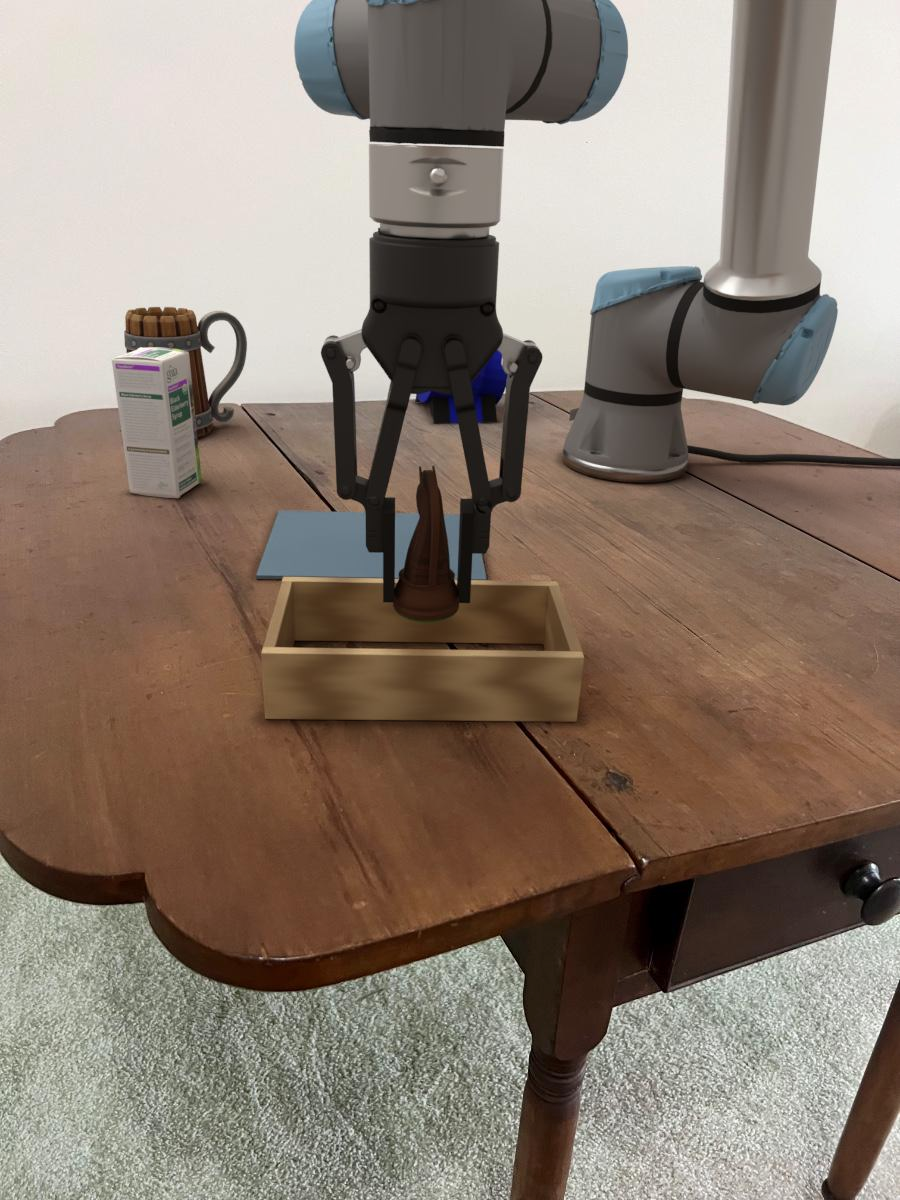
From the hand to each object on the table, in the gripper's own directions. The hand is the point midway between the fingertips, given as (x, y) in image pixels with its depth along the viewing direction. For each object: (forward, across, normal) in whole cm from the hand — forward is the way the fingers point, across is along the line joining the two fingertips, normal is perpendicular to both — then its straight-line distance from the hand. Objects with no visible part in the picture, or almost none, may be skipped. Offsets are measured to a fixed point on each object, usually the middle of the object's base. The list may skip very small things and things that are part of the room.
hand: (426, 593), depth 63 cm
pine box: (+6, 0, 0) cm, 6 cm away
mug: (+7, -29, +62) cm, 69 cm away
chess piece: (+1, 0, 0) cm, 1 cm away
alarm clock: (+7, +7, +75) cm, 76 cm away
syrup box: (+7, -27, +39) cm, 48 cm away
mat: (+7, -4, +24) cm, 25 cm away
